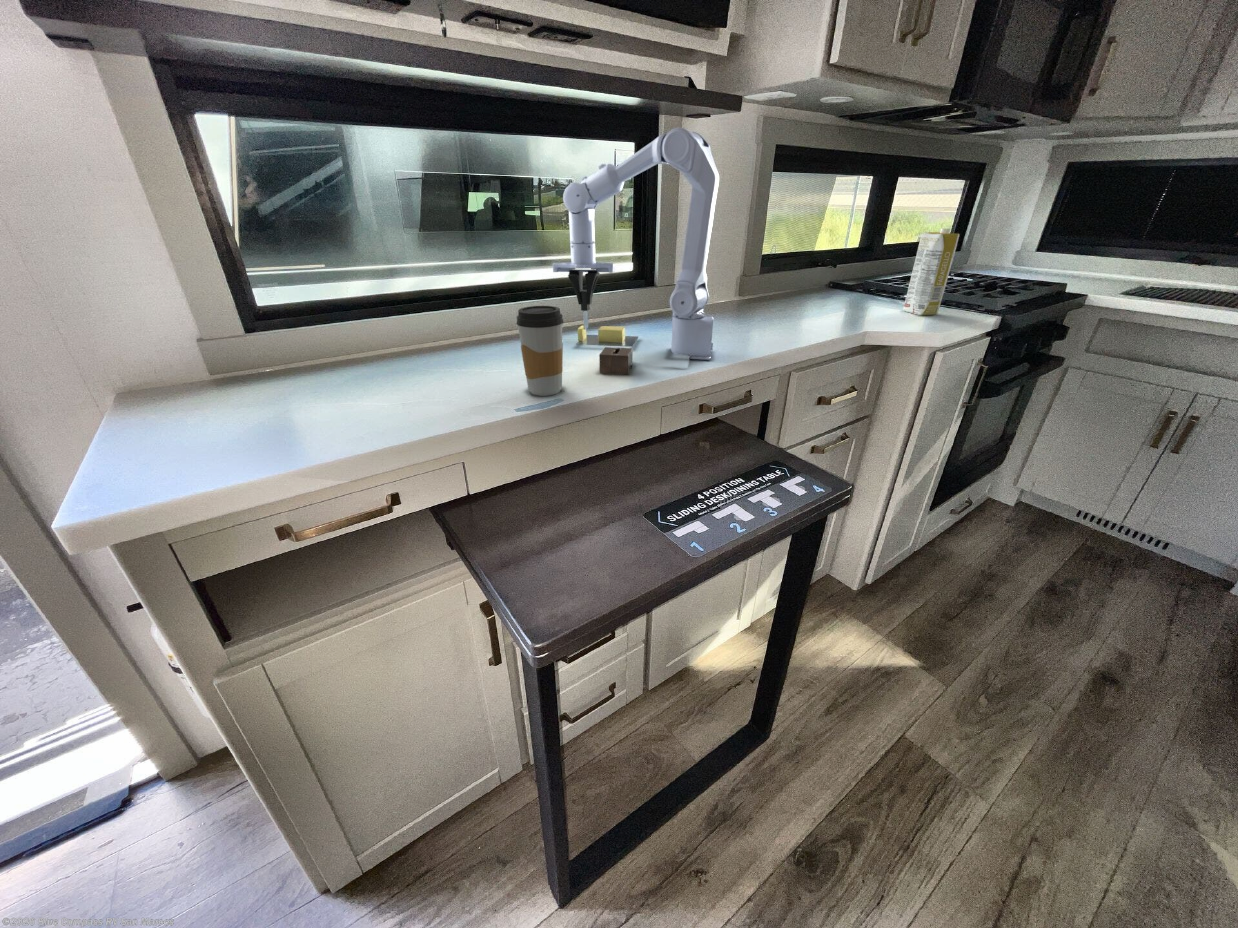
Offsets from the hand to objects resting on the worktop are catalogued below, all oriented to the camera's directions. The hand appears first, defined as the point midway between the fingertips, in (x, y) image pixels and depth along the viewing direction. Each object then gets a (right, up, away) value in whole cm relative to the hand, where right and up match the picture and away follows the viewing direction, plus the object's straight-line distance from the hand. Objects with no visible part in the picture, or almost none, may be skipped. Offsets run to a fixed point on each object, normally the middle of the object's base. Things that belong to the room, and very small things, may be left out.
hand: (585, 303), depth 123 cm
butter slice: (-1, -8, +4) cm, 9 cm away
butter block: (+6, -8, +3) cm, 11 cm away
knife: (0, -5, +3) cm, 6 cm away
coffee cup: (-6, -25, -27) cm, 37 cm away
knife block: (+8, -19, -15) cm, 26 cm away
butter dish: (+5, -9, +4) cm, 11 cm away
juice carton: (+103, +8, +36) cm, 109 cm away
